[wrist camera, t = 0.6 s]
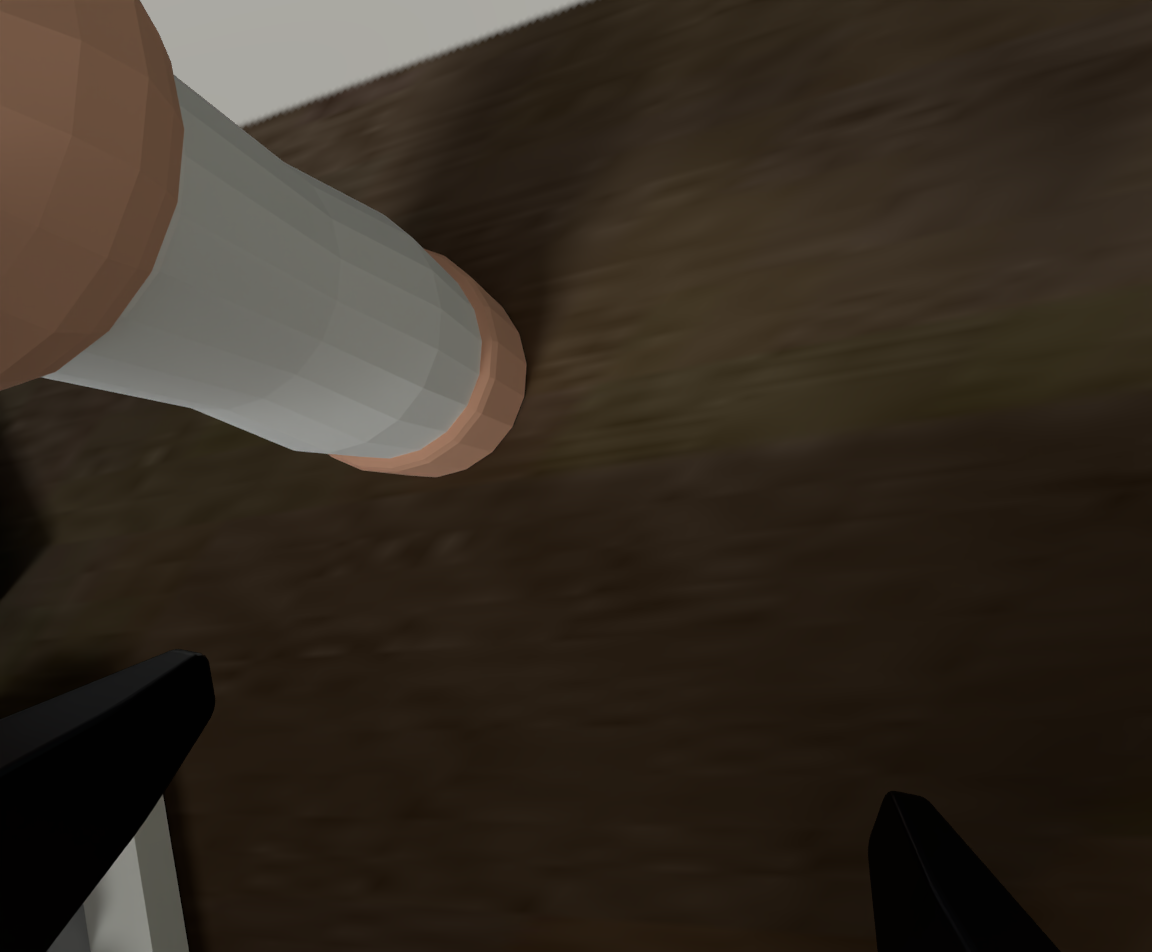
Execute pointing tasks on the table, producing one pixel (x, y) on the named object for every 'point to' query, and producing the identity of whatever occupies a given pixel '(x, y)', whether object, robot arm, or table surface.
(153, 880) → the button board
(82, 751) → the robot arm
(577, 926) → the table surface
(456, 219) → the table surface
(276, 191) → the pepper shaker
